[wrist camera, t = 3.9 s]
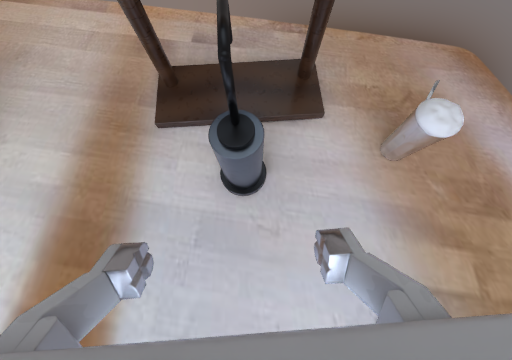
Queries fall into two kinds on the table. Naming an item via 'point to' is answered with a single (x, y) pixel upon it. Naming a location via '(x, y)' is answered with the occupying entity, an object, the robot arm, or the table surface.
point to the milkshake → (424, 127)
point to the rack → (245, 79)
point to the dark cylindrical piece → (235, 125)
